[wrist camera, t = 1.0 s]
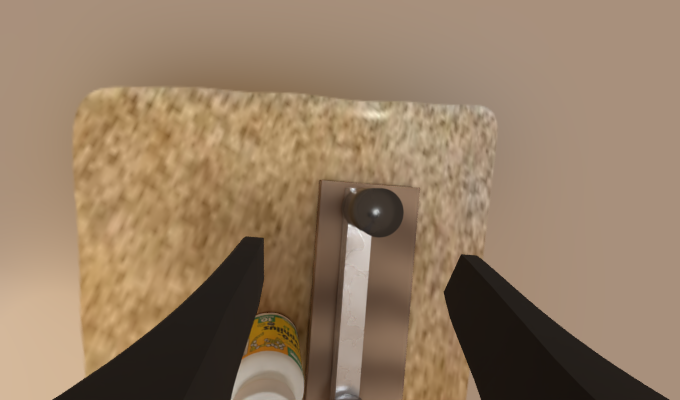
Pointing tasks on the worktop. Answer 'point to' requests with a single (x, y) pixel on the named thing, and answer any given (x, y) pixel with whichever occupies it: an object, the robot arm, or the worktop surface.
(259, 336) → the supplement bottle
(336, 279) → the base board
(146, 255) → the worktop surface
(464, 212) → the worktop surface
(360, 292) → the lever
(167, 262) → the worktop surface
